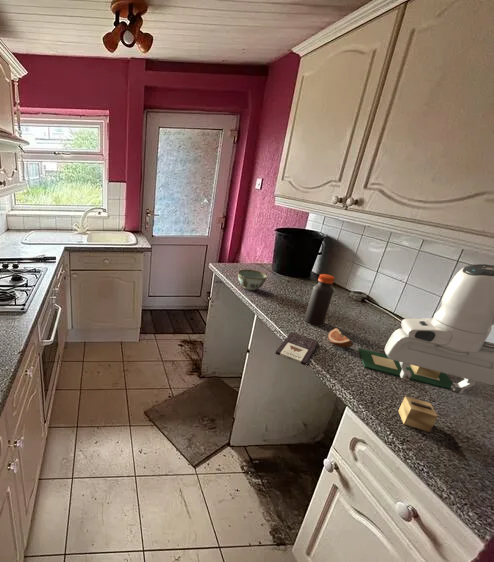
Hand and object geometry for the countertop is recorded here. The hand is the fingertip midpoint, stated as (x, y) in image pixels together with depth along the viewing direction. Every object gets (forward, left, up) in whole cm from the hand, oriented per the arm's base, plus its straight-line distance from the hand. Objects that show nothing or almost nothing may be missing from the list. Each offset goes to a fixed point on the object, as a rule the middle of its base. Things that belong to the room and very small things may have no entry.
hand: (429, 384), depth 75 cm
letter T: (-9, -27, -11) cm, 30 cm away
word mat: (-4, -27, -11) cm, 29 cm away
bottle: (+20, -48, -12) cm, 53 cm away
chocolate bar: (+26, -22, -11) cm, 36 cm away
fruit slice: (+13, -32, -12) cm, 36 cm away
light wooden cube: (0, 0, -11) cm, 11 cm away
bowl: (+47, -72, -12) cm, 87 cm away
